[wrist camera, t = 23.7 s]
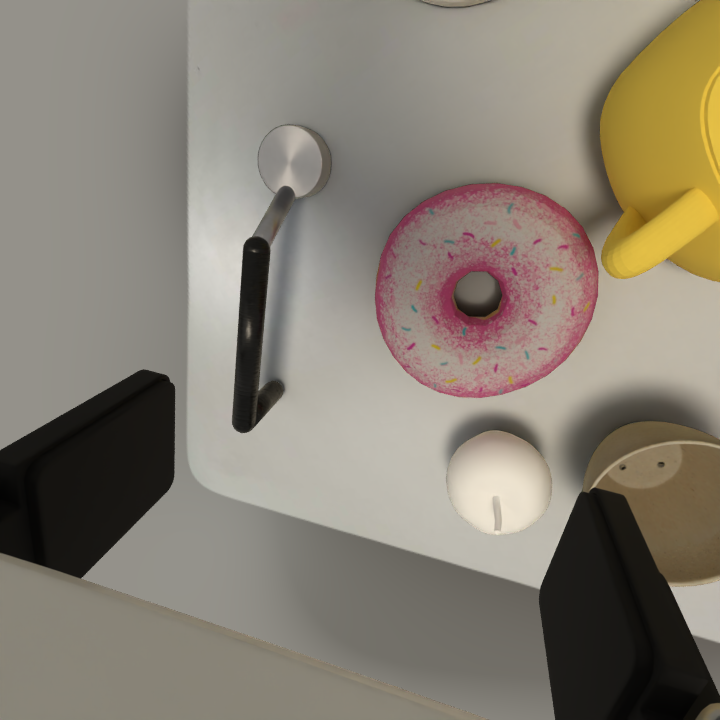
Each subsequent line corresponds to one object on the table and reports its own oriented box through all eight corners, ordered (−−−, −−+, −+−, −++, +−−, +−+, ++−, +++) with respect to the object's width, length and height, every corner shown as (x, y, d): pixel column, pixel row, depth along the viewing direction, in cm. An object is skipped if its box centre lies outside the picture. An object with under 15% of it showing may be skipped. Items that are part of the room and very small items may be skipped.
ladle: (272, 122, 32) (222, 109, 26) (335, 133, 31) (300, 122, 25) (251, 389, 40) (208, 428, 33) (301, 402, 39) (267, 445, 33)
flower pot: (692, 525, 35) (741, 605, 28) (549, 495, 37) (564, 564, 30) (746, 403, 31) (816, 463, 25) (584, 376, 33) (610, 426, 27)
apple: (440, 480, 39) (431, 551, 31) (461, 402, 36) (456, 460, 29) (529, 504, 37) (540, 583, 30) (557, 426, 35) (578, 492, 27)
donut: (573, 153, 29) (590, 149, 24) (600, 360, 32) (620, 390, 28) (360, 214, 33) (341, 220, 28) (407, 392, 36) (396, 422, 32)
